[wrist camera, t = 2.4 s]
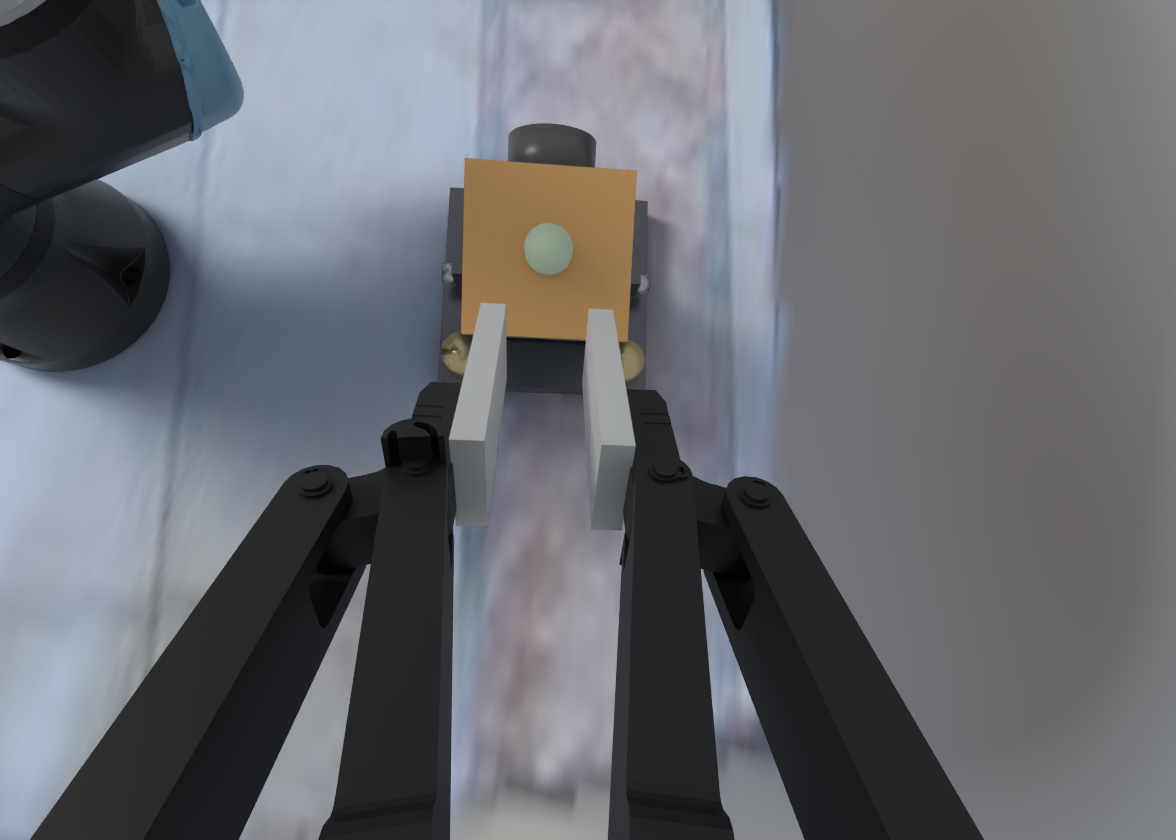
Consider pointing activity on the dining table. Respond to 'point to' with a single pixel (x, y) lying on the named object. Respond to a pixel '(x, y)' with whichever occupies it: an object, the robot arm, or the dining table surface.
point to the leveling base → (540, 359)
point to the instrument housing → (547, 235)
